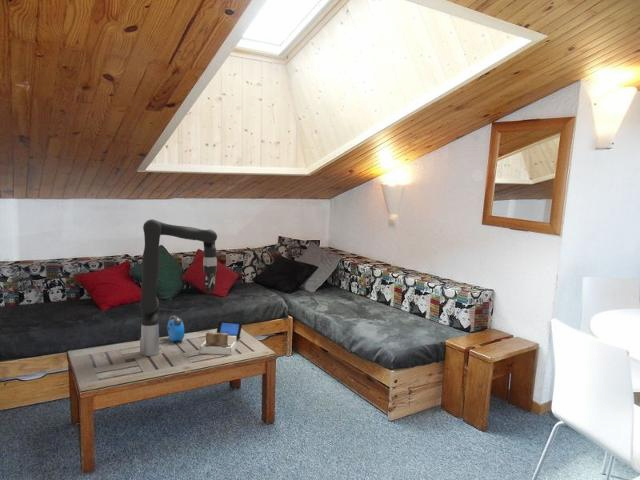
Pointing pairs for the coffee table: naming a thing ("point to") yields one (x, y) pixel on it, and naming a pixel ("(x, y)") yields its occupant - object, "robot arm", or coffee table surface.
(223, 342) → the door panel
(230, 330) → the handheld game console
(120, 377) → the coffee table surface
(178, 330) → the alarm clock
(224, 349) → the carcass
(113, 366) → the coffee table surface
